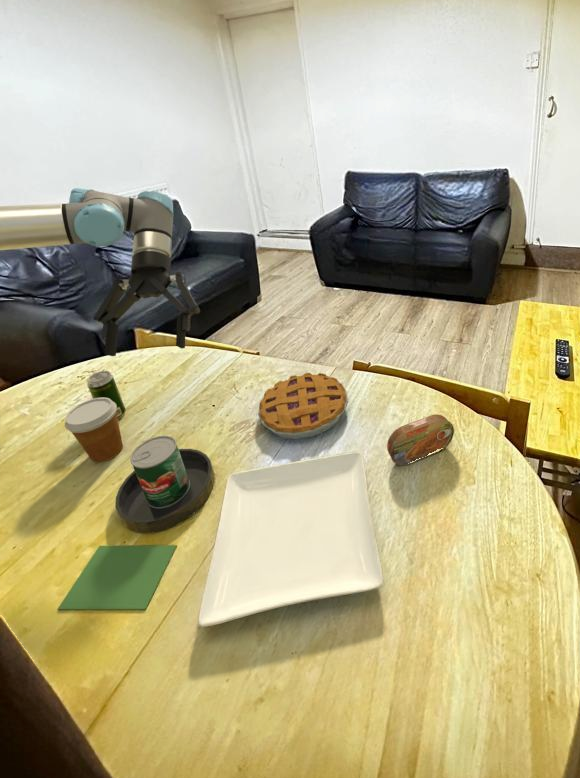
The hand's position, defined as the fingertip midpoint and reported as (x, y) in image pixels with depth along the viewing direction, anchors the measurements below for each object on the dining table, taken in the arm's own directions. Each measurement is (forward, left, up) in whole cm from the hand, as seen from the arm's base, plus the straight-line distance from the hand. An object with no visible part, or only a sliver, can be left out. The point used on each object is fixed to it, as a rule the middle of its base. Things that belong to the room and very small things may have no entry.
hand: (145, 351), depth 84 cm
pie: (+28, +10, -26) cm, 39 cm away
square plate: (+33, -22, -26) cm, 47 cm away
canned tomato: (+5, -13, -26) cm, 29 cm away
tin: (+56, -4, -26) cm, 61 cm away
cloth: (+5, -29, -26) cm, 39 cm away
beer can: (-21, +10, -26) cm, 35 cm away
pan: (+5, -13, -26) cm, 29 cm away
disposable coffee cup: (-15, -2, -26) cm, 30 cm away
